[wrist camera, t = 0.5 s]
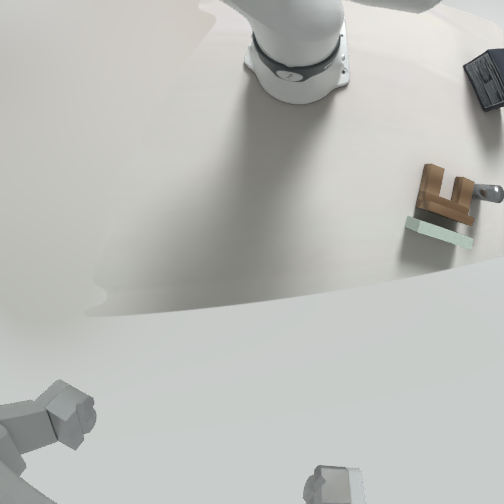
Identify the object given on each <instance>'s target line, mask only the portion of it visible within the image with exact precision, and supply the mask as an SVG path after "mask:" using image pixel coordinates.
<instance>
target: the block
mask: <svg viewBox="0 0 504 504" xmlns="http://www.w3.org/2000/svg"><path fill="white" fill-rule="evenodd" d="M443 174H444V169H443V168H441V167H439V166H436V165H434V164H425V166H424V171H423V176H422V181H421V186H420V190H419V195H418V199H417V204H416V207H418V208H420V209H423V210H426V211H429V212H432V213H435V214H438V215H441V216H443V217H446V218H449V219H451V220H454V221H457V222H460V223H463V224H466V225H470V226H472V225H473V221H474V218H473V217H470V216H468V212H469V207H470V203H471V198H472V193H473V188H474V183H475V182H473V181H471V180H469V179H467V178H464V177H456V179H455V185H454V190H453V194H452V199H451V201H450V200H447V199H445V198H442V197H439V193H440V189H441V184H442V179H443Z"/></svg>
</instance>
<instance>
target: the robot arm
mask: <svg viewBox="0 0 504 504" xmlns="http://www.w3.org/2000/svg"><path fill="white" fill-rule="evenodd" d="M220 1H222V2H224V3H225V4H227V5H229V6H230V7H232V8H233V9H235V10H236V11H237V12H239V13H240V14H241V15H243V16H244V17H245V18H246V19H247V20H248V21H249V23H250V25H251V27H252V30H253V33H252V38H253V41H252V43H251V44H249V46H248V52H247V53H246V55H245V58H244V62H245V64H246V66H247V67H248V68H250V69H251V70H252V71H253V72H254V73H255V74H256V76H257V78H258V80H259V82H260V84H261V86H262V87H263V88H264V89H265V91H267V92H268V93H269V94H270V95H271V96H273V97H274V98H276V99H278V100H280V101H283V102H286V103H291V104H307V103H312V102H315V101H317V100H319V99H321V98H323V97H324V96H326V95H327V94H328V93H329V92H330V91H332V90H333V89H335V88H338V87H341V86H344V85H346V84H348V83H349V81H350V69H349V55H348V43H347V33H346V23H345V18H344V7H343V4H342V2H341V0H220ZM347 1H351V2H355V3H359V4H363V5H366V6H374V7H380V8H386V9H392V10H399V11H405V12H411V13H417V14H418V13H422V12H425V11H427V10H429V9H431V8H433V7H435V6H436V5H437V4H439V3H440V2H441V1H442V0H347ZM341 36H342V37H341ZM342 71H344V72H345V74H342ZM93 405H94V400H93V398H92V397H90V396H89V395H87V394H85V393H83V392H81V391H80V390H78V389H76V388H74V387H72V386H71V385H69V384H68V383H66V382H64V381H62V380H57V381H55V382H54V383H53V384H52V385H51V386H50V387H49V388H48V389H47V390H46V391H45V392H44V393H42V394H41V395H40V396H39V397H38V398H37V399H36V400H35V401H32V400H27V401H22V402H16V403H11V404H5V405H0V504H57V503H55V502H54V501H52V500H50V499H49V498H48V497H46V496H45V495H44V494H42V493H41V492H39V491H38V490H37V489H35V488H34V487H32V486H31V485H30V484H28V483H27V482H26V481H25V480H23V479H22V478H21V477H20V475H21V473H22V472H23V471H24V470H25V468H26V463H25V462H24V460H23V458H22V457H21V454H24V453H27V452H30V451H33V450H35V449H38V448H41V447H44V446H46V445H49V444H52V443H55V442H57V441H60V442H62V443H63V444H65V445H67V446H68V447H70V448H72V449H74V450H76V449H77V448H78V447H79V445H80V444H81V443H82V442H83V440H84V434H86V433H89V432H90V431H91V430H92V428H93V427H94V425H95V422H96V412H95V410H94V409H93V407H92V406H93ZM303 498H304V500H305V501H306V502H307V503H306V504H365V496H364V488H363V481H362V474H361V470H360V469H359V468H345V467H335V466H322V465H319V466H317V467H316V469H315V470H314V475H312V476H310V477H309V478H308V480H307V482H306V484H305V487H304V493H303Z"/></svg>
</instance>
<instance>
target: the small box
mask: <svg viewBox="0 0 504 504" xmlns="http://www.w3.org/2000/svg"><path fill="white" fill-rule="evenodd" d="M463 67H464V69H465V71H466V73H467V75H468V77H469V79H470V81H471V83H472V85H473V87H474V90H475V92H476V94H477V97H478V99H479V101H480V104H481V106H482V109H483V111H484V112H487V111H489V110H494V109H498V108H501V107H504V49H488V50H487V51H486V52H484V53H483V54H481V55H479V56H478V57H476V58H475V59H473V60H472V61H470V62H469V63H467V64H465V65H463Z"/></svg>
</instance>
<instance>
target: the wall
mask: <svg viewBox="0 0 504 504" xmlns="http://www.w3.org/2000/svg"><path fill="white" fill-rule="evenodd" d="M405 227H407V228H409V229H411V230H414V231H416V232H418V233H422V234H425V235H428V236H431V237H434V238H437V239H440V240H443V241H446V242H449V243H452V244H455V245H458V246H461V247H464V248H467V249H470V250H471V247H472V244H473V240H474V239H472V238H470V237H467V236H465V235H462V234H459V233H457V232H454V231H451V230H448V229H445V228H443V227H440V226H437V225H434V224H431V223H428V222H425V221H422V220H419V219H416V218H413V217H410V216H408V217H407V221H406V225H405Z"/></svg>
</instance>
